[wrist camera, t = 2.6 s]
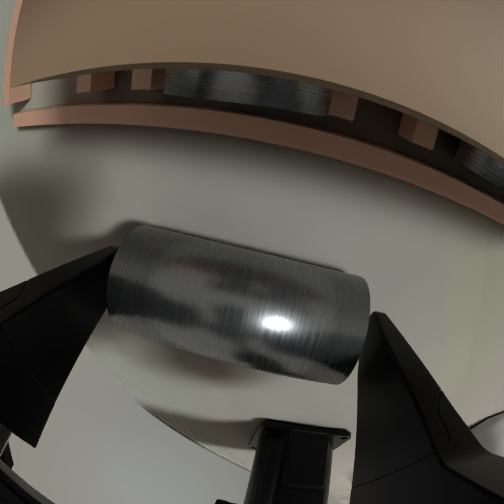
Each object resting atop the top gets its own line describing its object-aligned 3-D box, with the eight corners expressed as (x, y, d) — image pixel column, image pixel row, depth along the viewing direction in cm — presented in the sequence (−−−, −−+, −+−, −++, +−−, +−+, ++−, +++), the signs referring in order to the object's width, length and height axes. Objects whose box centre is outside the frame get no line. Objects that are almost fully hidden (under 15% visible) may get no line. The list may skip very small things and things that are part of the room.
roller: (330, 315, 11) (323, 398, 8) (162, 273, 11) (124, 344, 9) (365, 253, 8) (372, 355, 6) (151, 203, 9) (93, 282, 6)
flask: (488, 412, 14) (499, 510, 5) (526, 403, 13) (541, 484, 4) (442, 445, 18) (444, 527, 9) (484, 436, 17) (490, 508, 9)
